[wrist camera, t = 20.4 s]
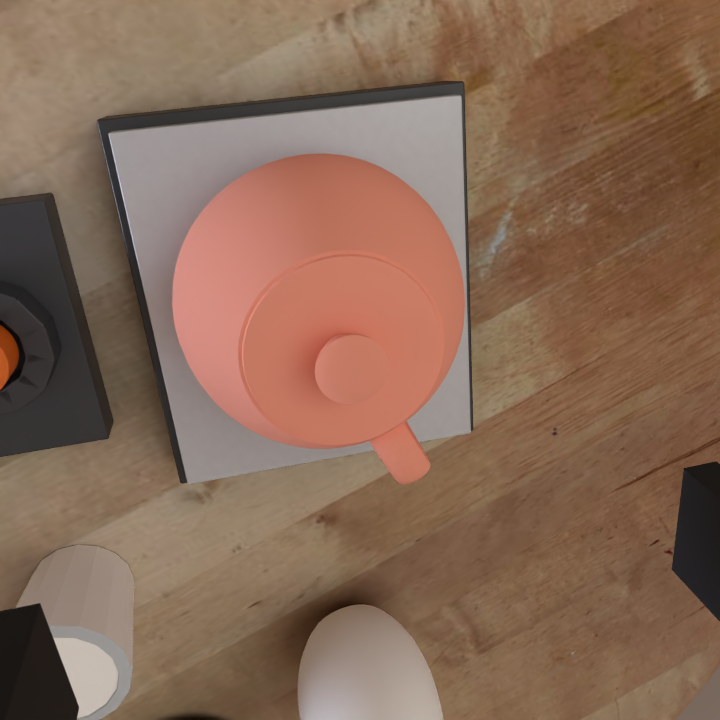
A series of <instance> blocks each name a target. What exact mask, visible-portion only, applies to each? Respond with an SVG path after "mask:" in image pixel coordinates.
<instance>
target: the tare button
mask: <svg viewBox="0 0 720 720" xmlns="http://www.w3.org/2000/svg"><path fill="white" fill-rule="evenodd" d="M18 361H19V349H18V346H17V343H16V341H15V339H14V338H13V336H12V335H11V334H10V332H9V331H8V330H6V329H5V328H4V327H3V326H1V325H0V390H1V389H2V388H3V386H4V385H5V384H6V382H7V381H8V379H9V378H10V376H11V375H12V373H13V372H14V370H15V369H16V367H17V364H18Z"/></svg>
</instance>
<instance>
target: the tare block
mask: <svg viewBox="0 0 720 720" xmlns="http://www.w3.org/2000/svg"><path fill="white" fill-rule="evenodd" d="M0 325H1V326H3V327H4V328H5V329H6V330H8V331H9V332H10V334H11V335H12V336H13V338H14V339H15V341H16V343H17V346H18V349H19V361H18V364H17V367H16V369H15V370H14V372H13V373H12V375H11V376H10V378H9V379H8V381H7V382H6V384H5V385H4V386H3V388H2V389H1V390H0V457H3V456H8V455H14V454H20V453H26V452H32V451H38V450H44V449H50V448H55V447H61V446H67V445H73V444H79V443H85V442H91V441H97V440H103V439H108V438H109V435H110V432H111V428H112V425H113V418H112V414H111V410H110V406H109V403H108V399H107V395H106V391H105V388H104V384H103V380H102V376H101V373H100V369H99V365H98V361H97V358H96V354H95V350H94V346H93V343H92V339H91V335H90V331H89V328H88V324H87V320H86V316H85V313H84V309H83V305H82V301H81V298H80V294H79V290H78V286H77V283H76V279H75V275H74V271H73V268H72V264H71V260H70V256H69V253H68V249H67V245H66V241H65V238H64V234H63V230H62V226H61V223H60V219H59V215H58V212H57V208H56V204H55V200H54V197H53V194H52V193H46V194H38V195H30V196H21V197H13V198H4V199H0Z"/></svg>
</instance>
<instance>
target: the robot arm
mask: <svg viewBox="0 0 720 720" xmlns="http://www.w3.org/2000/svg"><path fill="white" fill-rule="evenodd" d="M672 570H673V571H674V572H675V574H676V575H677V576H678V577H679V578H680V579H681V580H682V581H683V582H684V583H685V584H686V585H687V587H688V588H689V589H690V590H691V591H692V592H693V593H694V594H695V595H696V596H697V597H698V598H699V600H700V601H701V602H702V603H703V604H704V605H705V606H706V607H707V608H708V609H709V610H710V611H711V613H712V614H713V615H714V616H715V617H716V618H717V619H718V620H719V621H720V464H719V463H718V462H712V463H707V464H702V465H697V466H693V467H688V468H684V473H683V481H682V489H681V498H680V506H679V514H678V522H677V530H676V539H675V547H674V555H673V563H672ZM78 711H79V705H78V703H77V700H76V697H75V695H74V692H73V689H72V687H71V684H70V681H69V679H68V676H67V673H66V671H65V668H64V665H63V663H62V660H61V657H60V655H59V652H58V649H57V647H56V644H55V641H54V639H53V636H52V633H51V631H50V628H49V625H48V623H47V620H46V617H45V615H44V612H43V609H42V607H41V604H40V603H37V604H33V605H28V606H23V607H18V608H13V609H9V610H4V611H0V720H77V716H78Z"/></svg>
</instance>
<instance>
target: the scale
mask: <svg viewBox="0 0 720 720" xmlns="http://www.w3.org/2000/svg"><path fill="white" fill-rule="evenodd" d="M97 125H98V129H99V134H100V138H101V142H102V147H103V151H104V155H105V159H106V164H107V168H108V172H109V177H110V181H111V185H112V190H113V194H114V198H115V203H116V207H117V211H118V216H119V220H120V224H121V229H122V233H123V237H124V241H125V246H126V250H127V254H128V259H129V263H130V267H131V272H132V276H133V280H134V285H135V289H136V293H137V298H138V302H139V306H140V311H141V315H142V319H143V324H144V328H145V332H146V336H147V341H148V345H149V349H150V354H151V358H152V362H153V367H154V371H155V375H156V380H157V384H158V388H159V393H160V397H161V401H162V406H163V410H164V414H165V418H166V423H167V427H168V431H169V436H170V440H171V444H172V449H173V453H174V457H175V462H176V466H177V470H178V475H179V479H180V482H181V483H188V484H194V483H199V482H205V481H210V480H216V479H221V478H227V477H232V476H238V475H243V474H249V473H254V472H260V471H265V470H271V469H276V468H282V467H287V466H293V465H298V464H303V463H309V462H314V461H320V460H325V459H331V458H336V457H342V456H347V455H353V454H358V453H364V452H369V451H375V450H374V448H373V446H372V445H371V443H370V441H368V442H365V443H362V444H357V445H353V446H348V447H342V448H332V449H310V448H303V447H296V446H291V445H287V444H283V443H279V442H276V441H273V440H271V439H268V438H265V437H263V436H260V435H259V434H257V433H255V432H253V431H251V430H249V429H248V428H246V427H244V426H243V425H241V424H240V423H239V422H237V421H236V420H235V419H233V418H232V417H230V416H229V415H228V414H226V413H225V412H224V411H223V410H222V409H221V408H220V407H219V406H218V405H217V404H216V403H215V402H214V401H213V400H212V399H211V397H210V396H209V395H208V394H207V392H206V391H205V390H204V389H203V387H202V386H201V385H200V383H199V382H198V380H197V379H196V377H195V375H194V373H193V372H192V370H191V368H190V367H189V365H188V363H187V360H186V358H185V355H184V353H183V351H182V348H181V346H180V343H179V340H178V336H177V333H176V329H175V325H174V317H173V308H172V295H173V279H174V273H175V267H176V262H177V259H178V256H179V253H180V250H181V247H182V244H183V242H184V240H185V238H186V236H187V234H188V232H189V230H190V228H191V226H192V225H193V223H194V222H195V220H196V219H197V217H198V216H199V214H200V213H201V211H202V210H203V209H204V208H205V207H206V206H207V205H208V204H209V202H210V201H211V200H212V199H213V198H214V197H215V196H216V195H217V194H218V193H220V192H221V191H222V190H223V189H224V188H225V187H227V186H228V185H229V184H230V183H232V182H233V181H235V180H236V179H238V178H240V177H241V176H243V175H244V174H246V173H247V172H249V171H252V170H254V169H256V168H258V167H260V166H262V165H264V164H267V163H270V162H273V161H276V160H279V159H283V158H286V157H291V156H297V155H303V154H325V153H327V154H336V155H345V156H349V157H353V158H357V159H361V160H365V161H367V162H370V163H372V164H374V165H377V166H379V167H382V168H384V169H385V170H387V171H389V172H390V173H392V174H394V175H396V176H397V177H399V178H400V179H401V180H403V181H404V182H405V183H406V184H408V185H409V186H410V187H411V188H413V189H414V190H415V191H417V192H418V194H419V195H420V196H421V197H422V198H423V199H424V200H425V201H426V202H427V203H428V204H429V205H430V206H431V208H432V209H433V211H434V212H435V213H436V215H437V216H438V218H439V219H440V220H441V222H442V224H443V226H444V228H445V230H446V232H447V234H448V236H449V238H450V239H451V241H452V244H453V246H454V249H455V252H456V255H457V257H458V260H459V264H460V268H461V273H462V278H463V282H464V292H465V313H464V326H463V331H462V336H461V341H460V344H459V347H458V350H457V354H456V357H455V359H454V361H453V363H452V365H451V367H450V369H449V372H448V373H447V375H446V377H445V379H444V380H443V382H442V384H441V385H440V387H439V388H438V390H437V391H436V392H435V393H434V395H433V396H432V397H431V398H430V400H429V401H428V402H427V403H426V404H425V405H424V406H423V407H422V408H421V409H420V410H419V411H418V412H417V413H416V414H415V415H413V416H412V417H411V418H410V419H408V420H407V423H408V424H409V426H410V428H411V429H412V431H413V433H414V435H415V436H416V438H417V440H418V441H419V442H424V441H430V440H435V439H441V438H446V437H452V436H457V435H463V434H468V433H471V431H472V430H473V401H472V362H471V324H470V286H469V247H468V209H467V171H466V132H465V94H464V82H463V81H441V82H432V83H422V84H413V85H403V86H393V87H384V88H374V89H365V90H355V91H345V92H336V93H326V94H317V95H307V96H297V97H288V98H278V99H269V100H259V101H249V102H240V103H230V104H221V105H211V106H201V107H192V108H182V109H172V110H163V111H153V112H144V113H134V114H124V115H115V116H106V117H104V118H101V119H98V120H97Z"/></svg>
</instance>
